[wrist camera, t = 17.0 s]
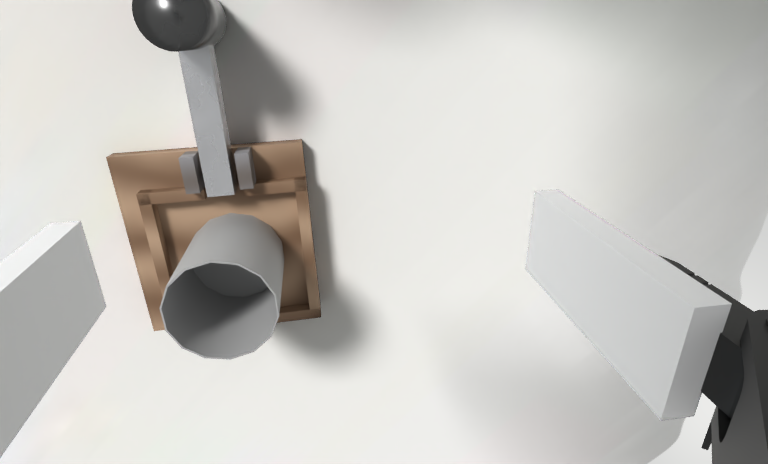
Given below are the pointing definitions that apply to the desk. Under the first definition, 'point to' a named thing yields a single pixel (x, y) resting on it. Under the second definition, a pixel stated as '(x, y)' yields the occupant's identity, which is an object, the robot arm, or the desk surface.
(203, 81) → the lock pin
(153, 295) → the dock
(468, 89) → the desk surface
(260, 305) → the cup
